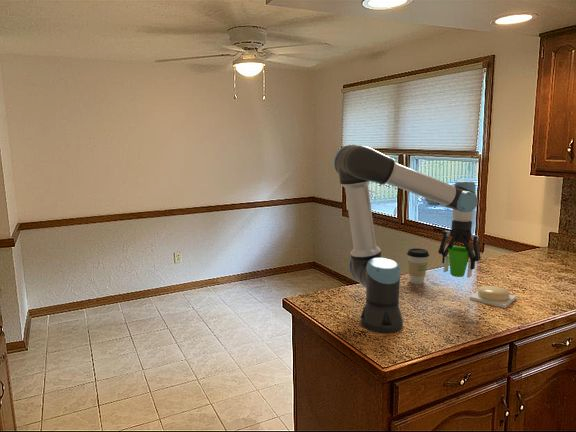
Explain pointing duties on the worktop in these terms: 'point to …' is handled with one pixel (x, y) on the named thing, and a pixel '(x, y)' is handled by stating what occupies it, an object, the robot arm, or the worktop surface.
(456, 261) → the cup
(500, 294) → the domed square tile
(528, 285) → the worktop surface
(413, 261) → the coffee cup
